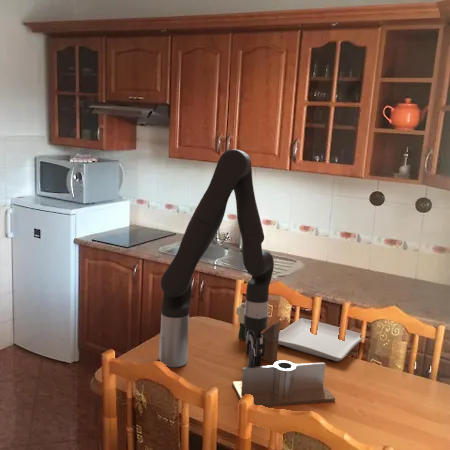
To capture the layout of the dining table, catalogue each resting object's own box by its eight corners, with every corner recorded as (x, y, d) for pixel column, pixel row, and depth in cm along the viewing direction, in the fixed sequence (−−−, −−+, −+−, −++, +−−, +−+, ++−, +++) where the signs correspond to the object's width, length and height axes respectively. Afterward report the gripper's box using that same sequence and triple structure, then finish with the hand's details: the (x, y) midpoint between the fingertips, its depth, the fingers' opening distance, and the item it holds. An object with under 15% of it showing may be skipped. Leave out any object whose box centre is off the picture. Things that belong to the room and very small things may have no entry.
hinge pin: (248, 376, 171) (250, 347, 169) (246, 372, 174) (248, 343, 172) (257, 375, 172) (259, 347, 170) (254, 371, 174) (256, 343, 173)
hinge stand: (244, 408, 152) (246, 379, 150) (232, 384, 165) (234, 357, 163) (334, 401, 159) (337, 373, 157) (316, 378, 172) (318, 353, 170)
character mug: (263, 340, 200) (266, 307, 198) (252, 345, 195) (254, 311, 192) (241, 331, 207) (242, 299, 204) (229, 336, 202) (231, 304, 199)
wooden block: (271, 363, 181) (275, 313, 178) (245, 353, 188) (249, 305, 184) (277, 359, 184) (281, 310, 181) (251, 350, 191) (255, 302, 187)
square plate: (341, 368, 181) (342, 357, 180) (269, 347, 195) (270, 337, 194) (365, 342, 204) (366, 333, 203) (300, 325, 218) (300, 316, 217)
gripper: (239, 305, 175) (236, 351, 178) (251, 321, 161) (248, 371, 164) (260, 304, 176) (257, 350, 180) (274, 320, 163) (271, 369, 166)
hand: (253, 360), depth 172 cm, fingers open, 8 cm apart
